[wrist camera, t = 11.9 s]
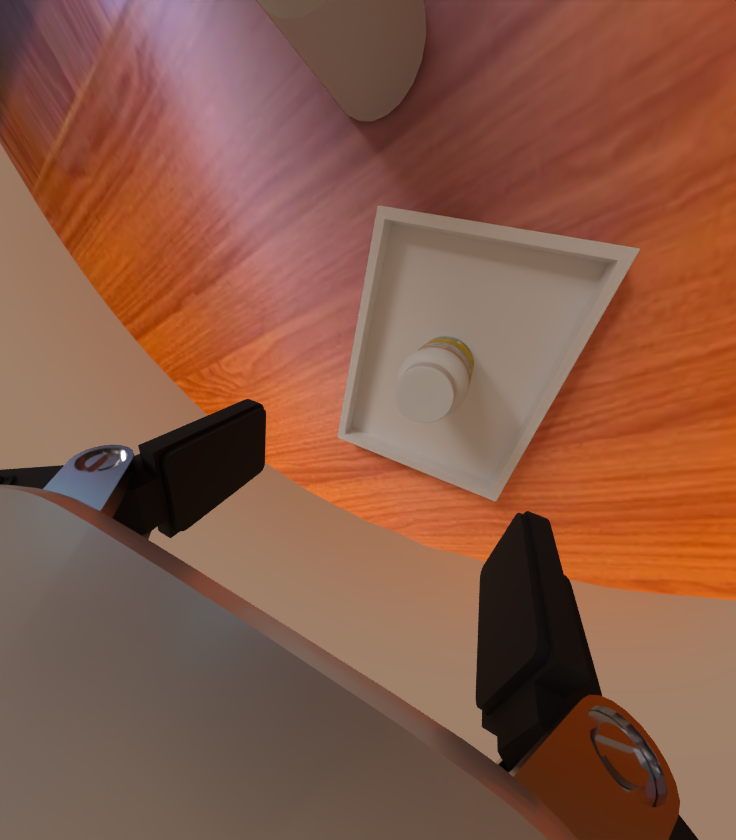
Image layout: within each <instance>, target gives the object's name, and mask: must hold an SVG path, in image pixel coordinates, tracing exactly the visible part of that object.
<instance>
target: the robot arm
mask: <svg viewBox="0 0 736 840" xmlns="http://www.w3.org/2000/svg"><path fill="white" fill-rule="evenodd" d="M265 433H266V411H265V410H264V407H263V405H262V404H260V403H257V402H255V401H252V400H250V399H246V400H243V401H241V402H239V403H236V404H234V405H232V406H229V407H227V408H225V409H222V410H220V411H218V412H215V413H213V414H211V415H208V416H206V417H204V418H201V419H199V420H197V421H194V422H192V423H190V424H187V425H185V426H182V427H180V428H178V429H176V430H173V431H171V432H168V433H166V434H164V435H161V436H159V437H157V438H154V439H152V440H150V441H147V442H145V443H143V444H140V445H138V446H139V450H140V454H138V455H136V456H134V453H133V450H132V449H130V448H129V447H126V446H121V445H104V446H99V447H94V448H91V449H88V450H85V451H82V452H80V453H78V454H76V455H75V456H73V457H72V458H71V459H70V460H69V461H68V462H67V463H66V464H65V465H62V466H48V467H34V468H20V469H6V470H0V840H698V839H697V837H696V836H695V835H694V833H693V832H692V831H691V829H690V828H689V827H688V826H687V825H686V823H685V822H684V820H683V819H682V818H681V817H680V815H679V806H680V800H679V795H678V790H677V786H676V782H675V780H674V778H673V775H672V773H671V771H670V768H669V766H668V764H667V762H666V760H665V759H664V757H663V755H662V754H661V752H660V750H659V749H658V747H657V745H656V744H655V742H654V741H653V740H652V739H651V737H650V736H649V735H648V734H647V732H646V731H645V730H644V728H643V727H642V726H641V725H640V724H639V723H638V722H637V721H636V720H635V719H634V718H633V717H632V716H631V715H630V714H629V713H628V712H627V711H626V710H624V709H623V708H622V707H620V706H619V705H617V704H616V703H615V702H613V701H611V700H609V699H607V698H605V697H602V693H601V690H600V686H599V682H598V679H597V675H596V672H595V668H594V664H593V661H592V657H591V654H590V650H589V647H588V643H587V639H586V636H585V632H584V629H583V625H582V622H581V618H580V614H579V611H578V607H577V604H576V600H575V596H574V593H573V589H572V586H571V583H570V581H569V579H568V578H567V577H566V576H565V575H564V574H563V570H562V566H561V563H560V559H559V555H558V551H557V547H556V544H555V540H554V536H553V532H552V528H551V525H550V522H549V520H548V519H546V518H544V517H541V516H539V515H536V514H534V513H531V512H529V511H526V512H525V513H524V514H521V513H517V514H516V516H515V517H514V519H513V520H512V522H511V523H510V525H509V527H508V528H507V530H506V531H505V533H504V534H503V536H502V538H501V539H500V541H499V542H498V544H497V545H496V547H495V548H494V550H493V552H492V553H491V555H490V556H489V558H488V559H487V561H486V563H485V564H484V566H483V568H482V571H481V575H480V593H479V622H478V648H477V676H476V705H477V707H478V708H480V709H481V710H482V727H483V728H484V729H486V730H488V731H489V732H491V733H492V734H494V735H496V736H497V737H498V738H497V739H498V740H497V742H498V753H499V755H500V756H501V758H500V759H499V760H498V761H497V762H496V763H495V762H493V761H492V760H491V759H489V758H488V757H487V756H485V755H484V754H482V753H481V752H480V751H478V750H477V749H476V748H474V747H473V746H471V745H470V744H468V743H467V742H466V741H464V740H463V739H462V738H460V737H458V736H457V735H456V734H454V733H453V732H451V731H449V730H448V729H446V728H445V727H443V726H442V725H440V724H439V723H437V722H436V721H434V720H433V719H431V718H430V717H428V716H427V715H425V714H424V713H422V712H421V711H419V710H417V709H416V708H415V707H413V706H411V705H410V704H408V703H407V702H405V701H404V700H402V699H401V698H399V697H398V696H396V695H395V694H393V693H392V692H390V691H388V690H387V689H385V688H384V687H382V686H381V685H379V684H378V683H376V682H374V681H373V680H371V679H370V678H368V677H367V676H365V675H363V674H362V673H360V672H358V671H357V670H355V669H354V668H352V667H351V666H349V665H348V664H346V663H344V662H343V661H341V660H339V659H338V658H336V657H335V656H333V655H332V654H330V653H329V652H327V651H325V650H324V649H322V648H321V647H319V646H318V645H316V644H314V643H313V642H311V641H310V640H308V639H306V638H305V637H303V636H302V635H300V634H298V633H297V632H295V631H294V630H292V629H291V628H289V627H287V626H286V625H284V624H283V623H281V622H279V621H278V620H276V619H275V618H273V617H271V616H270V615H268V614H266V613H265V612H263V611H262V610H260V609H259V608H257V607H255V606H254V605H252V604H251V603H249V602H247V601H246V600H244V599H243V598H241V597H239V596H238V595H236V594H235V593H233V592H231V591H230V590H228V589H227V588H225V587H223V586H221V585H220V584H219V583H217V582H215V581H214V580H212V579H211V578H209V577H207V576H206V575H204V574H202V573H201V572H199V571H198V570H196V569H194V568H193V567H191V566H190V565H188V564H186V563H185V562H183V561H182V560H180V559H178V558H177V557H175V556H173V555H172V554H170V553H168V552H167V551H165V550H164V549H162V548H160V547H159V546H157V545H156V544H154V543H152V542H151V541H149V540H148V539H149V536H150V533H151V531H152V530H153V529H154V528H155V527H157V526H158V530H159V531H160V532H161V533H163V534H165V535H166V536H168V537H169V538H171V537H173V536H174V535H176V534H177V533H178V532H180V531H184V530H186V529H188V528H189V527H191V526H192V525H193V524H194V523H196V522H197V521H198V520H200V519H201V518H202V517H203V516H204V515H206V514H207V513H209V512H210V511H211V510H212V509H214V508H215V507H216V506H217V505H219V504H220V503H222V502H223V501H224V500H225V499H227V498H228V497H229V496H231V495H232V494H233V493H234V492H236V491H237V490H238V489H239V488H241V487H242V486H244V485H245V484H246V483H247V482H249V481H250V480H251V479H253V478H254V477H255V476H256V475H258V474H259V473H260V472H261V471H262V470H263V468H264V465H265Z"/></svg>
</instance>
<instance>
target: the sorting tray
mask: <svg viewBox="0 0 736 840" xmlns="http://www.w3.org/2000/svg"><path fill="white" fill-rule="evenodd" d="M639 250H640V248H634V247H628V246H622V245H616V244H610V243H604V242H598V241H592V240H586V239H580V238H574V237H568V236H562V235H556V234H550V233H543V232H537V231H531V230H525V229H519V228H513V227H507V226H501V225H495V224H489V223H483V222H477V221H471V220H465V219H459V218H453V217H447V216H441V215H435V214H429V213H423V212H417V211H410V210H404V209H398V208H392V207H386V206H380V205H378V206H377V211H376V217H375V223H374V229H373V234H372V240H371V246H370V252H369V257H368V263H367V269H366V275H365V280H364V286H363V292H362V298H361V303H360V309H359V315H358V321H357V326H356V332H355V338H354V344H353V349H352V355H351V361H350V367H349V372H348V378H347V384H346V390H345V396H344V401H343V407H342V413H341V419H340V424H339V430H338V436H337V438H340V439H342V440H345V441H347V442H349V443H352V444H354V445H357V446H359V447H362V448H364V449H367V450H369V451H372V452H374V453H377V454H379V455H381V456H384V457H386V458H389V459H391V460H394V461H396V462H399V463H401V464H404V465H406V466H409V467H411V468H413V469H416V470H418V471H421V472H423V473H426V474H428V475H431V476H433V477H436V478H438V479H441V480H443V481H445V482H448V483H450V484H453V485H455V486H458V487H460V488H463V489H465V490H468V491H470V492H472V493H475V494H477V495H480V496H482V497H485V498H487V499H490V500H492V501H495V502H496V501H497V499H498V497H499V495H500V494H501V492H502V490H503V488H504V487H505V485H506V483H507V481H508V480H509V478H510V476H511V474H512V473H513V471H514V469H515V467H516V466H517V464H518V462H519V460H520V459H521V457H522V455H523V453H524V452H525V450H526V448H527V446H528V445H529V443H530V441H531V439H532V438H533V436H534V434H535V432H536V431H537V429H538V427H539V425H540V424H541V422H542V420H543V418H544V417H545V415H546V413H547V411H548V410H549V408H550V406H551V404H552V403H553V401H554V399H555V397H556V396H557V394H558V392H559V390H560V389H561V387H562V385H563V383H564V382H565V380H566V378H567V376H568V375H569V373H570V371H571V369H572V368H573V366H574V364H575V362H576V361H577V359H578V357H579V355H580V354H581V352H582V350H583V348H584V347H585V345H586V343H587V341H588V340H589V338H590V336H591V334H592V333H593V331H594V329H595V327H596V326H597V324H598V322H599V320H600V319H601V317H602V315H603V313H604V312H605V310H606V308H607V306H608V305H609V303H610V301H611V299H612V298H613V296H614V294H615V292H616V291H617V289H618V287H619V285H620V284H621V282H622V280H623V278H624V277H625V275H626V273H627V271H628V270H629V268H630V266H631V264H632V263H633V261H634V259H635V257H636V256H637V254H638V252H639ZM441 336H450V337H454V338H457V339H459V340H461V341H462V342H464V343H465V344H466V345H467V346H468V347H469V349H470V350H471V352H472V355H473V359H474V368H473V373H472V377H471V381H470V385H469V389H468V393H467V395H466V397H465V399H464V401H463V402H462V404H461V405H460V406H459V407H458V408H457V409H456V410H455V411H453V412H451V413H450V414H447V415H446V416H445V417H443V418H442V419H440V420H438V421H436V422H432V423H419V422H415V421H413V420H411V419H409V418H408V417H406V416H405V415H404V414H403V413H402V412H401V411H400V409H399V408H398V406H397V403H396V400H395V386H396V383H397V376H398V372H399V369H400V367H401V365H402V363H403V362H404V361H405V360H406V358H407V357H408V356H410V355H411V354H412V353H414V352H415V351H416V350H418V349H419V348H420V347H422V346H423V345H424V344H426V343H427V342H428V341H430V340H432V339H434V338H437V337H441Z"/></svg>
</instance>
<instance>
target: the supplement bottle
mask: <svg viewBox="0 0 736 840" xmlns="http://www.w3.org/2000/svg"><path fill="white" fill-rule="evenodd" d="M473 368H474V359H473V355H472V352H471V350H470V349H469V347H468V346H467V345H466V344H465V343H464V342H462V341H461V340H459V339H457V338H454V337H450V336H441V337H437V338H434V339H432V340H430V341H428V342H427V343H426V344H424V345H423V346H422V347H420V348H419V349H418V350H416V351H415V352H414V353H412V354H411V355H410V356H408V357H407V358H406V360H405V361H404V362H403V363H402V365H401V367H400V369H399V372H398V376H397V383H396V386H395V400H396V403H397V406H398V408H399V409H400V411H401V412H402V413H403V414H404V415H405V416H406V417H408V418H409V419H411V420H413V421H415V422H419V423H432V422H436V421H438V420H440V419H442V418H443V417H445V416H446V415H447V414H450V413H451V412H453V411H455V410H456V409H457V408H458V407H459V406H460V405H461V404H462V402H463V401H464V399H465V397H466V395H467V393H468V389H469V385H470V381H471V377H472V373H473Z"/></svg>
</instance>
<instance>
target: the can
mask: <svg viewBox="0 0 736 840" xmlns="http://www.w3.org/2000/svg"><path fill="white" fill-rule="evenodd" d="M256 1H257V2H258V3H259V4H260V6H261V7H262V8H263V10H264V11H265V12H266V13H267V15H268V16H269V17H270V18H271V20H272V21H273V22H274V23H275V25H276V26H277V27H278V29H279V30H280V31H281V32H282V34H283V35H284V36H285V37H286V39H287V40H288V41H289V42H290V44H291V45H292V46H293V47H294V49H295V50H296V51H297V53H298V54H299V55H300V56H301V58H302V59H303V60H304V61H305V63H306V64H307V65H308V66H309V68H310V69H311V70H312V71H313V73H314V74H315V75H316V77H317V78H318V79H319V80H320V82H321V83H322V84H323V85H324V87H325V88H326V89H327V90H328V92H329V93H330V94H331V95H332V97H333V98H334V99H335V101H336V102H337V103H338V104H339V106H340V107H341V108H342V109H343V111H344V112H345V113H346V114H347V115H349V116H350V117H352V118H354V119H356V120H358V121H375V120H377V119H379V118H382V117H384V116H386V115H388V114H389V113H390V112H391V111H392V110H393V109H394V108H395V107H397V106H398V105H399V104H400V103H401V102H402V100H403V99H404V97H405V95H406V94H407V92H408V91H409V89H410V88H411V86H412V85H413V83H414V80H415V77H416V75H417V72H418V70H419V67H420V65H421V62H422V57H423V52H424V46H425V40H426V9H425V5H424V0H256Z"/></svg>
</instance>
